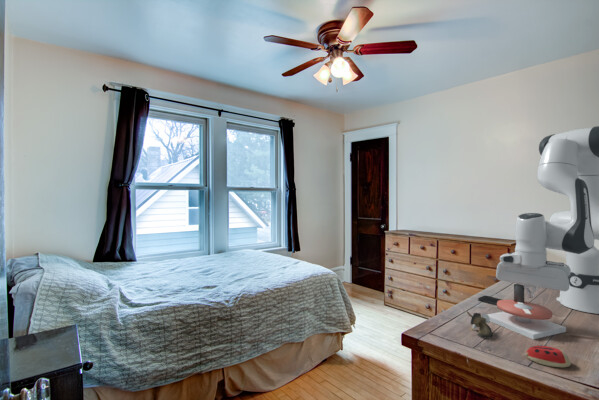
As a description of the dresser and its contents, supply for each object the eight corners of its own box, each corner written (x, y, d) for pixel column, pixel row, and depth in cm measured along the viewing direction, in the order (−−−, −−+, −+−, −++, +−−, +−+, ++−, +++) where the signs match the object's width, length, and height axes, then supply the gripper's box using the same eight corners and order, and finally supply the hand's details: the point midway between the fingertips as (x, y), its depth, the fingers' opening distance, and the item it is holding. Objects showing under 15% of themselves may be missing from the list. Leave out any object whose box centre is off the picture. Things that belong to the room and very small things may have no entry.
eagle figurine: (459, 320, 100) (464, 326, 91) (471, 304, 99) (477, 308, 91) (481, 336, 97) (488, 343, 88) (494, 319, 96) (502, 325, 88)
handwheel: (559, 323, 89) (559, 300, 89) (501, 315, 95) (501, 292, 95) (543, 307, 102) (544, 286, 102) (493, 300, 109) (493, 281, 109)
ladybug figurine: (578, 371, 73) (578, 357, 73) (533, 366, 75) (534, 353, 75) (559, 357, 79) (559, 344, 79) (519, 353, 81) (519, 340, 81)
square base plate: (515, 313, 109) (515, 301, 109) (565, 331, 94) (566, 318, 94) (484, 319, 104) (484, 306, 104) (533, 339, 89) (533, 324, 89)
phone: (485, 295, 128) (526, 305, 115) (485, 297, 128) (526, 308, 115) (476, 298, 123) (518, 309, 111) (476, 301, 123) (518, 312, 111)
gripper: (571, 262, 97) (571, 302, 97) (498, 253, 112) (499, 289, 112) (569, 265, 92) (569, 308, 93) (494, 256, 107) (494, 293, 107)
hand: (530, 297), depth 102 cm, fingers closed
